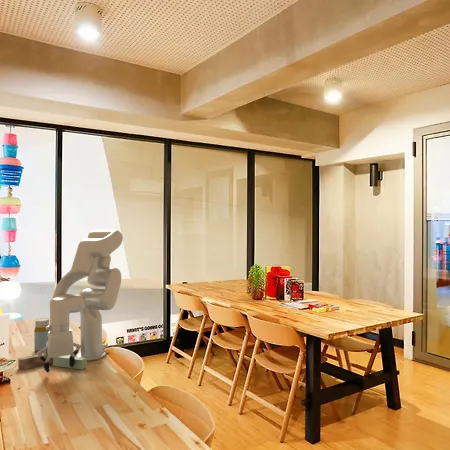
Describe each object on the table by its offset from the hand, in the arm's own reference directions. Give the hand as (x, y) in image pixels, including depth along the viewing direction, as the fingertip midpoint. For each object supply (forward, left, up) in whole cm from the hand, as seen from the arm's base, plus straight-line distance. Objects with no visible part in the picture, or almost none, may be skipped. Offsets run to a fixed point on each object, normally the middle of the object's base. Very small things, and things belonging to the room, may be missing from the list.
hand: (59, 369), depth 171 cm
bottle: (-21, -31, -2) cm, 38 cm away
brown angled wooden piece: (-9, -15, -2) cm, 18 cm away
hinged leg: (-7, -2, -1) cm, 8 cm away
